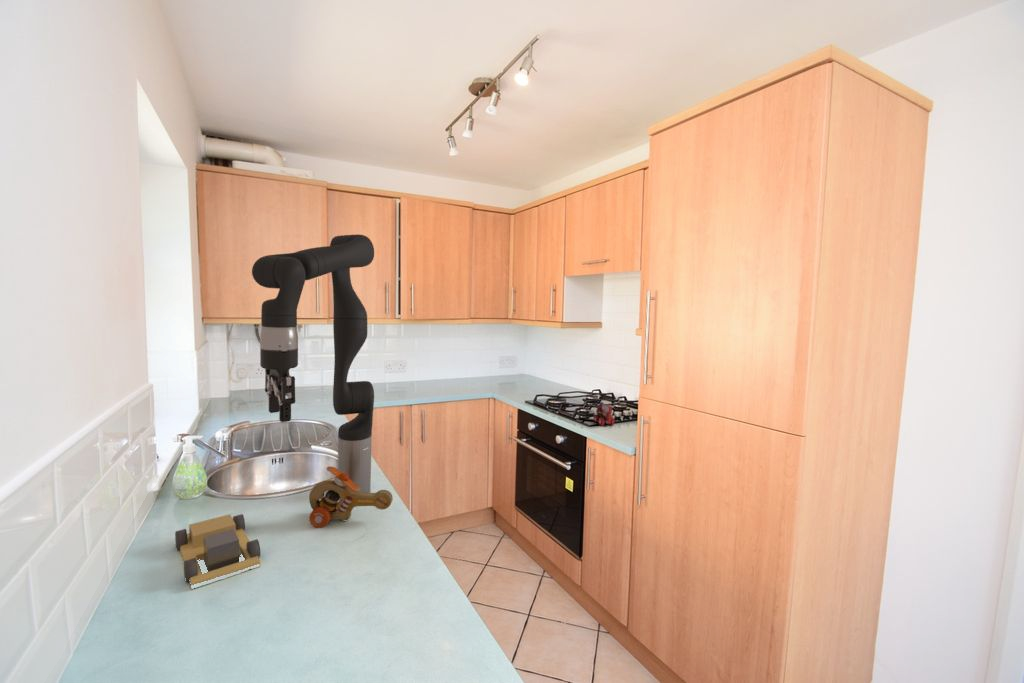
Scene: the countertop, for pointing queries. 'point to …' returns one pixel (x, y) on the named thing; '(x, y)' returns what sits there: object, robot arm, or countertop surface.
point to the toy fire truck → (604, 414)
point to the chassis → (194, 547)
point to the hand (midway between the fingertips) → (279, 416)
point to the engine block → (221, 550)
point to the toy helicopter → (342, 499)
